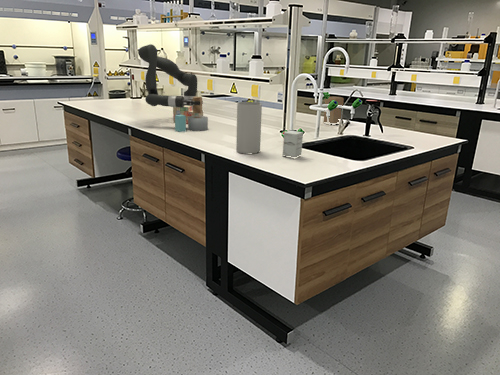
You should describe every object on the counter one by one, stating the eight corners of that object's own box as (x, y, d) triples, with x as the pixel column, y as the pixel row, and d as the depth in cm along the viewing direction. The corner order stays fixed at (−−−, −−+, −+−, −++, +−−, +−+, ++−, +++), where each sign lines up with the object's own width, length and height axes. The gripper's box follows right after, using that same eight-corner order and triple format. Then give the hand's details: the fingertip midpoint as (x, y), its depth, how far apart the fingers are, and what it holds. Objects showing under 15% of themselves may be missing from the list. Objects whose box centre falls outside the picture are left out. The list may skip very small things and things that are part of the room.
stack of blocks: (203, 124, 283) (203, 107, 279) (199, 125, 278) (198, 107, 274) (178, 121, 291) (177, 104, 287) (173, 122, 285) (172, 105, 281)
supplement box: (281, 156, 200) (283, 132, 195) (289, 154, 205) (290, 130, 201) (295, 159, 196) (296, 134, 192) (301, 156, 202) (303, 131, 198)
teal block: (175, 130, 257) (174, 115, 254) (181, 129, 260) (181, 114, 257) (179, 131, 253) (178, 116, 250) (186, 131, 257) (185, 115, 253)
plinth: (184, 128, 265) (184, 116, 262) (200, 126, 273) (200, 114, 270) (195, 131, 256) (195, 119, 253) (211, 129, 264) (211, 117, 261)
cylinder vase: (235, 148, 214) (236, 101, 205) (258, 149, 214) (260, 102, 206) (236, 154, 202) (237, 104, 194) (261, 154, 203) (263, 105, 195)
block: (333, 125, 293) (335, 98, 287) (322, 123, 300) (325, 96, 294) (341, 124, 299) (344, 97, 293) (331, 122, 306) (333, 96, 300)
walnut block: (192, 112, 259) (192, 97, 255) (194, 111, 263) (194, 96, 260) (200, 113, 258) (200, 97, 255) (202, 112, 263) (202, 97, 260)
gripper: (172, 96, 252) (198, 98, 250) (179, 94, 266) (204, 96, 264) (173, 108, 255) (198, 110, 253) (179, 106, 268) (204, 107, 266)
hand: (201, 102), depth 258 cm, fingers closed on walnut block, 5 cm apart
